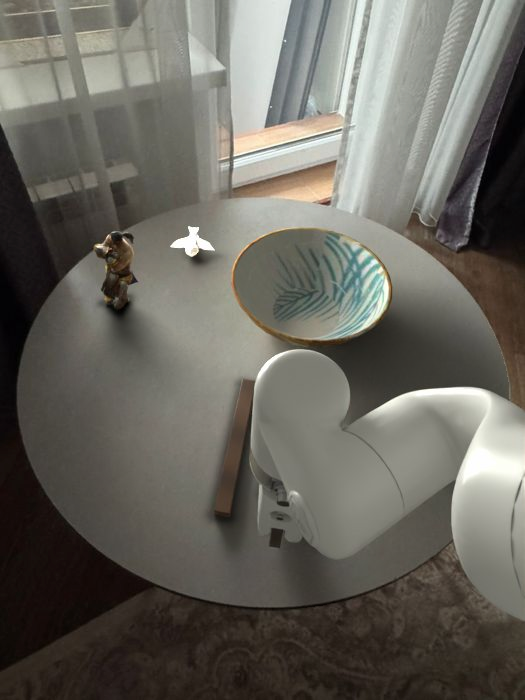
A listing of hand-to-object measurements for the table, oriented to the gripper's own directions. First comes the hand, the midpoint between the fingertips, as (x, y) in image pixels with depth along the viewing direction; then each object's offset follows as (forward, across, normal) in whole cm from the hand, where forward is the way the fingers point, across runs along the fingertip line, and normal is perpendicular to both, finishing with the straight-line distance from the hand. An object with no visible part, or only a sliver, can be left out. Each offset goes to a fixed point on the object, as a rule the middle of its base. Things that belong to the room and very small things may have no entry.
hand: (276, 518), depth 62 cm
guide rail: (+1, +10, +7) cm, 12 cm away
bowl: (+2, +36, -1) cm, 36 cm away
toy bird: (+2, +47, +21) cm, 51 cm away
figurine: (+2, +32, +29) cm, 43 cm away
